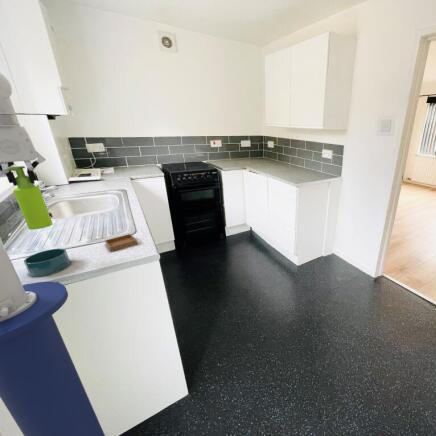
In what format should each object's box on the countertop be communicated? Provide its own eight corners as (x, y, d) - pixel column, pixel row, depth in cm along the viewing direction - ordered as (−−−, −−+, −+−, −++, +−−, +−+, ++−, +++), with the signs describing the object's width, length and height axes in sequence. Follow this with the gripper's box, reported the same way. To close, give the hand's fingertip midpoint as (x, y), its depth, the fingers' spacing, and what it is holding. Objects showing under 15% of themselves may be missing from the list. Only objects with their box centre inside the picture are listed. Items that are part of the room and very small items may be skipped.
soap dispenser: (23, 231, 78) (-4, 168, 71) (33, 224, 84) (10, 165, 77) (46, 228, 80) (23, 167, 73) (55, 222, 86) (35, 164, 79)
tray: (137, 244, 104) (136, 240, 103) (110, 251, 97) (109, 247, 97) (131, 237, 110) (130, 233, 109) (106, 244, 104) (104, 240, 103)
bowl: (71, 267, 86) (67, 255, 84) (29, 280, 79) (23, 267, 77) (69, 257, 93) (64, 245, 92) (29, 268, 86) (24, 255, 85)
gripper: (-49, 120, 63) (-18, 190, 69) (39, 121, 74) (60, 181, 80) (-43, 121, 68) (-14, 186, 74) (39, 122, 79) (58, 178, 85)
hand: (24, 183), depth 77 cm, fingers closed on soap dispenser, 3 cm apart
